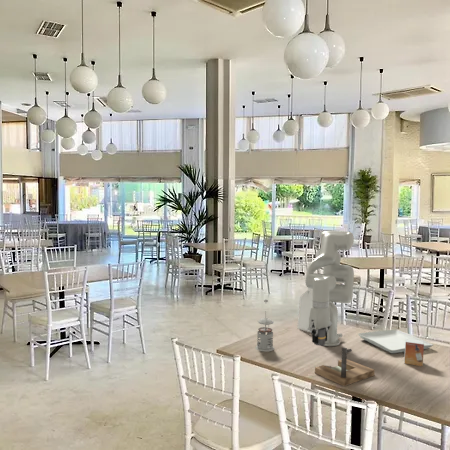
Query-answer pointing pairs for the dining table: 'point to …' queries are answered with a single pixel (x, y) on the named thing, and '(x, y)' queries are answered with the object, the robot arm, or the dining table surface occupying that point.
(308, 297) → the milk
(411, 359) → the small box
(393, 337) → the square plate
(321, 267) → the robot arm
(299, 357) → the dining table surface
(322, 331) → the grey cylinder
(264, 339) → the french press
